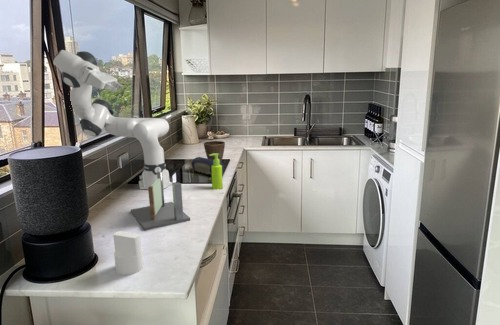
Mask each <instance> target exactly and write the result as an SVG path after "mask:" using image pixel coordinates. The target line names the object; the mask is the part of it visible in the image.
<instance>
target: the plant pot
mask: <svg viewBox="0 0 500 325" xmlns="http://www.w3.org/2000/svg"><path fill="white" fill-rule="evenodd" d="M203 147H204V152H205V155H206V158H207V159H212V160H214V159H215V155H213V156H209V155H210V154H214V153H218V154H219V155H218V159H219V161H220V162H222V161H223V157H224V152H225V147H226V142H225V141H223V140H212V141H211V140H209V141H205V142H204V143H203ZM222 163H223V162H222Z"/></svg>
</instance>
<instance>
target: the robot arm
mask: <svg viewBox="0 0 500 325" xmlns="http://www.w3.org/2000/svg"><path fill="white" fill-rule="evenodd" d="M52 60H53V65H54V66H55V67H56V68H57V69H58V70H59V71H60V74H61V79H62V82H63V83H64V84H65V85H67V86H68V87H71V90H70V91H69V92H70V101H71V105H72V107H73V109H74V112H75V114H76V115H75V114H74V115H75V116H77V117H79V118H80V120H79V121H80V123H79V124H80V129H81V130H82V132H83V133H85V134H86V135H88V136H90V137H99V135H101V133H102V132H103V129H104V131H105V132H106V133H107V134H110V135H113V136H116V137H124V138H135V139H136V140H138V141H139V143H140V146H141V147H142V151H143V152H142V153H143V161H144V162H143V169H144V170H143V171H142V173H141V175H139V181H138V186H139V190H147V191H148V187H149V186H152V185H153V184H154V182H155V181H156V180H157V172H159V171H161V172H162V177H163V189H166V188H168V187H170V186H172V183H173V181H170V173H169V170H168V169H167V166H166V162H165V151H164V148H163V147H162V146H161V144H160V142H159V138H161V137H163V136H165V135H166V134H167V133H169V131H170V125H169V122H168V121H167V120H166V119H165V118H159V117H121V116H120V117H117V116H114V114H115V112H114V110H113V108H112V106H111V104H110V103H109V102H108V101H106V100H105V99H101V98H98V99H97V98H96V99H95V100H94V101H93V102H92V94H93V93H92V92H93V87H94V88H96V89H98V90H104V89H105V90H108V91H112V92H114V93H116V92H117V91H118V90H120V91H122V90H123V89H124V88H125V87H124V85H122V84H120V83H119V82H118V78H116V77H114V75H113V76H112V75H110V74H108V73H107V72H105V71H101V70H100V67H99V66H98V62H97V59H96V56H94V55H93V53H91V52H89V51H81V50H80V51H77V52H76V54H75V53H72V52H70V51H68V50H65V49H61V50H59V51H58V52H57V53H56V54H55V56H54V58H53V59H52Z"/></svg>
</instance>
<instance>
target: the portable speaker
mask: <svg viewBox="0 0 500 325" xmlns="http://www.w3.org/2000/svg"><path fill="white" fill-rule="evenodd" d="M219 162H220V161H219ZM212 165H214V164H213V160H212V159H208V158H207V157H201V156H198V157H195V158H193V159H192V161H191V167H192V169H193V171H194V172H196V171H197V172H196V173H200V172H201V174H204V173H205V175H209V174H210V175H209V176H212V170H211V166H212ZM220 165H222V175H223V174H224V173H225V171H226V165H225V164H224V163H223V162H220Z"/></svg>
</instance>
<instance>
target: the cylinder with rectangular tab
mask: <svg viewBox="0 0 500 325" xmlns="http://www.w3.org/2000/svg"><path fill="white" fill-rule="evenodd" d="M112 236H113V243H114V253H113V256H114V257H113V258H114V265H115V272H116V273H117V274H118V275H122V276H130V275H134V274H136V273H139V272H141V271H142V270H144V267H145V259H144V250H143V247H142V246H143V245H142V235H141V234H140V233H133V232H127V231H123V230H122V231H121V230H119V231H116V232H115V233H114V234H113V235H112Z"/></svg>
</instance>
